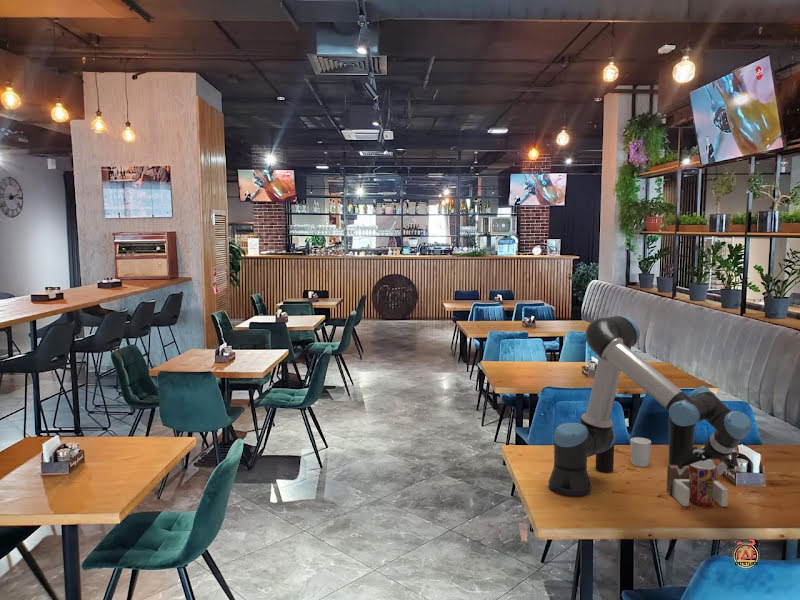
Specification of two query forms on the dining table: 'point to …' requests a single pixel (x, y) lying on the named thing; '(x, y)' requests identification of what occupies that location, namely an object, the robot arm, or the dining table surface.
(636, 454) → the white cup
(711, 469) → the smoothie
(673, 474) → the backstop wall
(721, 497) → the frame
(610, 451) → the vinegar
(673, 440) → the water bottle
